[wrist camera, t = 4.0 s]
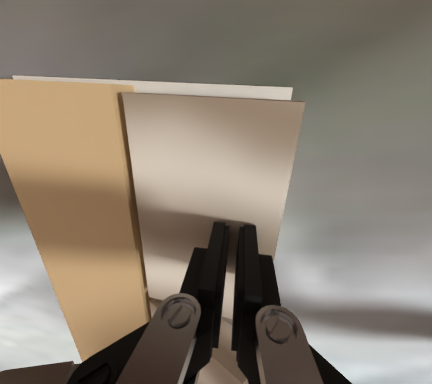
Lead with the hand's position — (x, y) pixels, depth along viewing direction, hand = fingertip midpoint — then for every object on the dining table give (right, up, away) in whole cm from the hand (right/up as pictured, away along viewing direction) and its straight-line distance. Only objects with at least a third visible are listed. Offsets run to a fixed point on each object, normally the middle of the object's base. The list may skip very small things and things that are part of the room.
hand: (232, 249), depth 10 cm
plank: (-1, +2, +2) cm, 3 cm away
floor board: (-5, -3, +7) cm, 9 cm away
